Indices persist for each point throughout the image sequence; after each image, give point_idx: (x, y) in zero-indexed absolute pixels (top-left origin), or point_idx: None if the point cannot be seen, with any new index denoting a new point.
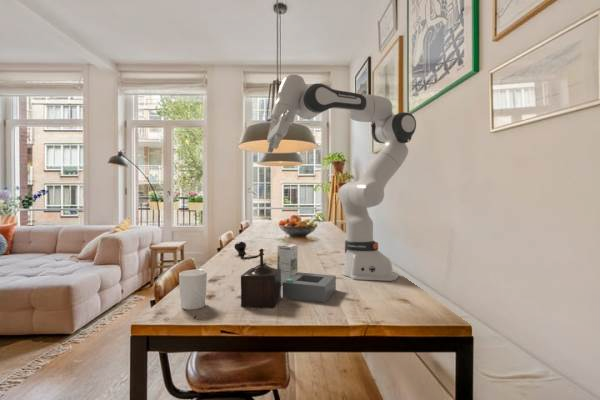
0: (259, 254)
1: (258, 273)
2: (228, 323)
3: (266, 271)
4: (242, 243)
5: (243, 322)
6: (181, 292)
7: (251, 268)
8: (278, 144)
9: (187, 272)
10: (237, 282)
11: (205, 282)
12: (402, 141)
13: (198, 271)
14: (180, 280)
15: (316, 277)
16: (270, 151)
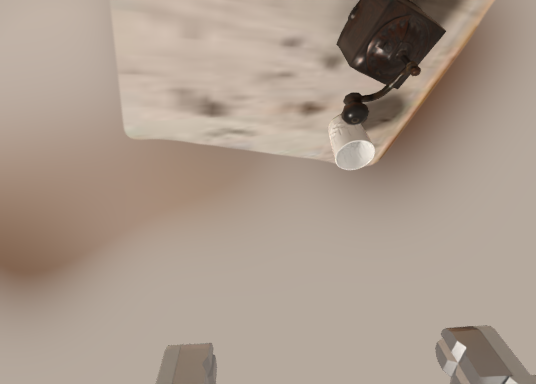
0: (409, 71)
1: (414, 60)
2: (430, 82)
3: (420, 44)
4: (367, 113)
5: (441, 64)
6: (354, 150)
7: (357, 68)
8: (521, 369)
9: (337, 161)
10: (236, 65)
11: (362, 132)
12: None
13: (338, 149)
14: (358, 162)
15: None
16: (211, 357)
